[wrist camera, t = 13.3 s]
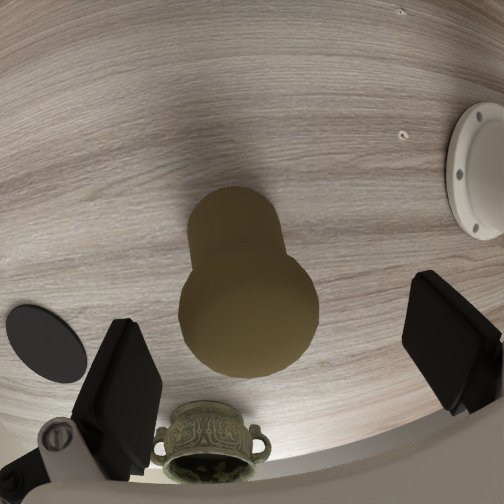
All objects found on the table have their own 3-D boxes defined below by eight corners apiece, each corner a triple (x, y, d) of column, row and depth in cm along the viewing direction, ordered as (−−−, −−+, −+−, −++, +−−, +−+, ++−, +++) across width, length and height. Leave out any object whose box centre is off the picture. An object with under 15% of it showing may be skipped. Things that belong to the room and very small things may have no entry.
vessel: (160, 442, 28) (156, 488, 22) (140, 396, 25) (130, 449, 19) (265, 439, 29) (273, 485, 23) (267, 392, 26) (279, 447, 20)
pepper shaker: (187, 185, 18) (152, 255, 8) (284, 188, 19) (360, 257, 9) (188, 273, 20) (170, 400, 10) (275, 274, 21) (323, 394, 11)
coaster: (61, 299, 20) (59, 302, 20) (102, 380, 24) (101, 383, 23) (-6, 308, 19) (-8, 310, 19) (35, 379, 23) (34, 382, 23)
